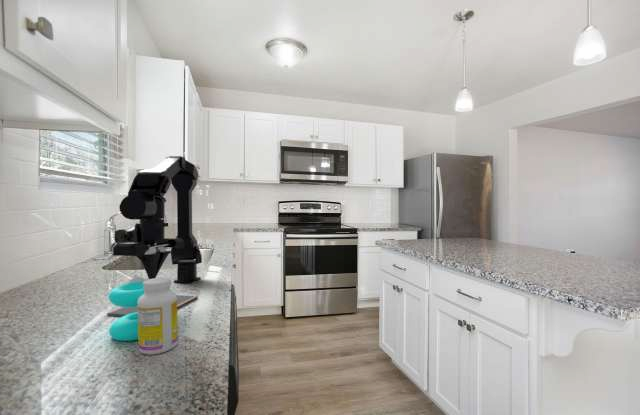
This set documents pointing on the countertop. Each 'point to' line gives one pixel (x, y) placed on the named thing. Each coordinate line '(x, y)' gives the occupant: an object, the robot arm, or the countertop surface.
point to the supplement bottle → (157, 317)
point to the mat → (124, 311)
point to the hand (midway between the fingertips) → (152, 279)
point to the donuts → (128, 324)
